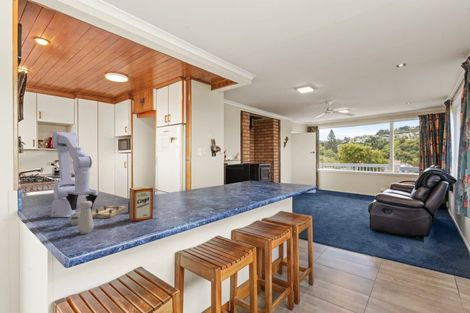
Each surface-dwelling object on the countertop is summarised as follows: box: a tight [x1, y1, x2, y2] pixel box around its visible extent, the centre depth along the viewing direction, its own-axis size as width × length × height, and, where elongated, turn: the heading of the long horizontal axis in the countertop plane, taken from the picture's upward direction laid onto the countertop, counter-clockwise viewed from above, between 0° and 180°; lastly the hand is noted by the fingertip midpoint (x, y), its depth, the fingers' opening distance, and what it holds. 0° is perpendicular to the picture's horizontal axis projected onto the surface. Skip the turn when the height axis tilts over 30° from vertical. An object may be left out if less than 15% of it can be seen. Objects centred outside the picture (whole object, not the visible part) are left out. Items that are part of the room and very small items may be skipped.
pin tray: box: [92, 205, 128, 219], centre depth 122 cm, size 13×17×3 cm
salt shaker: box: [77, 200, 95, 235], centre depth 93 cm, size 6×6×13 cm
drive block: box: [70, 209, 93, 226], centre depth 106 cm, size 4×9×5 cm, turn 179°
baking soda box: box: [128, 186, 154, 223], centre depth 114 cm, size 10×6×16 cm
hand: (81, 210), depth 106 cm, fingers open, 7 cm apart
